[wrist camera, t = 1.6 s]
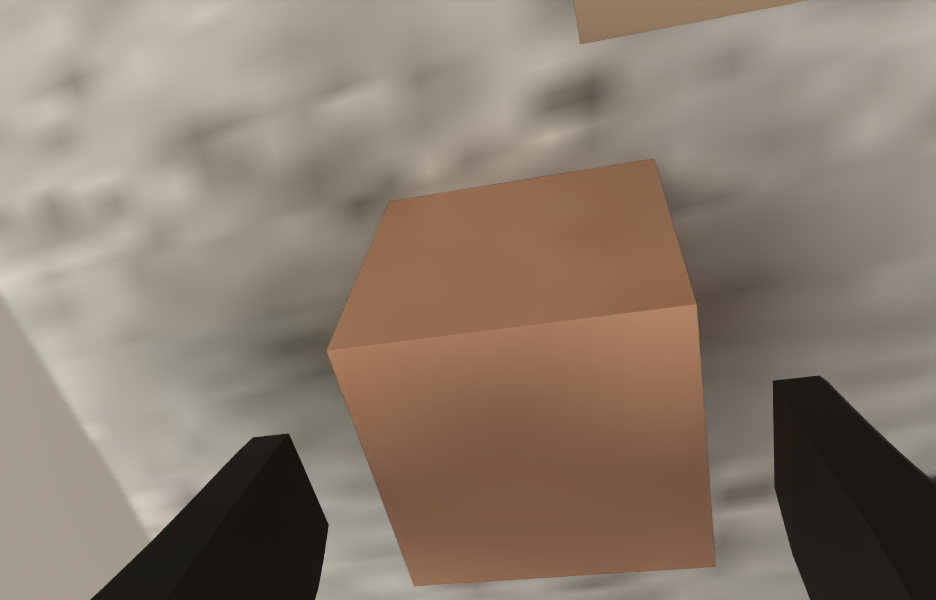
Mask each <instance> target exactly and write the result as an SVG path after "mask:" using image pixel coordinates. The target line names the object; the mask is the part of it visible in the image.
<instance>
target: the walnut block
mask: <svg viewBox="0 0 936 600" xmlns="http://www.w3.org/2000/svg"><path fill="white" fill-rule="evenodd" d="M802 1H807V0H574V3H575V11H576V18H577V25H578V32H579V40H580V44H584V43H589V42H594V41H599V40H605V39H610V38H615V37H620V36H625V35H631V34H636V33H641V32H646V31H651V30H657V29H662V28H667V27H672V26H677V25H682V24H688V23H693V22H698V21H703V20H708V19H714V18H719V17H724V16H729V15H734V14H739V13H745V12H750V11H755V10H760V9H765V8H771V7H776V6H781V5H786V4H791V3H796V2H802Z"/></svg>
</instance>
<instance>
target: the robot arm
mask: <svg viewBox="0 0 936 600" xmlns="http://www.w3.org/2000/svg"><path fill="white" fill-rule="evenodd" d="M773 419H774V482H775V491H776V494H777V498H778V502H779V506H780V510H781V514H782V517H783V521H784V525H785V529H786V532H787V536H788V539H789V543H790V547H791V550H792V554H793V557H794V559H795V562H796V564H797V567H798V570H799V572H800V575H801V577H802V580H803V582H804V585H805V587H806V590H807V592H808V595H809V597H810V600H936V483H934V482H933V481H932V480H931V479H930V478H929V477H928V476H926V475H925V474H924V473H923V472H922V471H921V470H920V469H918V468H917V467H916V466H915V465H914V464H913V463H912V462H910V461H909V460H908V459H907V458H906V457H905V456H904V455H903V454H901V453H900V452H899V451H898V450H897V449H896V448H895V447H894V446H893V445H892V444H891V443H889V442H888V441H887V440H886V439H885V438H884V437H883V436H882V435H881V434H880V433H879V432H878V431H877V430H876V429H875V428H874V427H873V426H872V425H870V424H869V423H868V422H867V421H866V420H865V419H864V418H863V417H862V416H861V415H860V414H859V413H858V412H857V411H856V410H855V409H854V408H853V407H852V406H851V405H850V404H849V403H848V402H847V401H846V400H845V399H844V398H843V397H842V396H841V395H840V394H839V393H838V392H837V391H836V390H835V389H834V388H833V387H832V386H831V385H830V384H829V383H828V382H827V381H826V380H825V379H823V378H822V377H821V376H812V377H803V378H794V379H784V380H775V381H773ZM328 526H329V525H328V522H327V520H326V518H325V515H324V513H323V511H322V508H321V506H320V504H319V502H318V499H317V497H316V495H315V492H314V490H313V488H312V485H311V483H310V481H309V479H308V476H307V474H306V472H305V469H304V467H303V465H302V462H301V460H300V458H299V456H298V453H297V451H296V449H295V446H294V444H293V442H292V439H291V437H290V435H289V434H280V435H271V436H262V437H253V438H252V439H251V440H250V441H249V442H248V443H247V444H246V445H245V446H243V447H242V448H241V449H240V450H239V451H238V452H237V453H236V454H235V455H234V456H233V457H232V458H231V459H230V461H229V462H228V463H227V464H226V465H225V466H224V467H223V468H222V469H221V470H220V471H219V472H218V473H217V474H216V475H215V476H214V477H213V478H212V479H211V480H210V481H209V482H208V483H207V485H206V486H205V487H204V488H203V489H202V490H201V491H200V492H199V493H198V494H197V495H196V496H195V497H194V498H193V499H192V500H191V501H190V502H189V503H188V504H187V505H186V506H185V508H184V509H183V510H182V511H181V512H180V513H179V514H178V515H177V516H176V517H175V518H174V519H173V520H172V521H171V522H170V523H169V524H168V525H167V526H166V527H165V528H164V529H163V530H162V531H161V532H160V533H159V534H158V535H157V536H156V537H155V538H154V539H153V540H152V541H151V542H150V543H149V544H148V545H147V546H146V547H145V548H144V549H143V550H142V551H141V552H140V553H139V554H138V555H137V556H136V557H135V558H134V559H133V560H132V561H131V562H130V563H129V564H127V566H126V567H124V568H123V569H122V570H121V571H120V572H119V573H118V574H117V575H116V576H115V577H114V578H113V579H112V580H111V581H110V582H109V583H108V584H107V585H106V586H105V587H104V588H103V589H101V590H100V591H99V592H98V593H97V594H96V595H95V596H94V597H93V598H92V599H91V600H315V598H316V594H317V591H318V587H319V582H320V576H321V571H322V565H323V560H324V553H325V546H326V540H327V533H328Z"/></svg>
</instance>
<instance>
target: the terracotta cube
mask: <svg viewBox="0 0 936 600" xmlns="http://www.w3.org/2000/svg"><path fill="white" fill-rule="evenodd" d="M327 354H328V356H329V359H330V362H331V364H332V367H333V370H334V372H335V375H336V378H337V380H338V383H339V386H340V389H341V391H342V394H343V397H344V399H345V402H346V405H347V407H348V410H349V413H350V415H351V418H352V421H353V423H354V426H355V429H356V431H357V434H358V437H359V440H360V442H361V445H362V448H363V450H364V453H365V456H366V458H367V461H368V464H369V466H370V469H371V472H372V474H373V477H374V480H375V482H376V485H377V488H378V491H379V493H380V496H381V499H382V501H383V504H384V507H385V509H386V512H387V515H388V517H389V520H390V523H391V525H392V528H393V531H394V533H395V536H396V539H397V542H398V544H399V547H400V550H401V552H402V555H403V558H404V560H405V563H406V566H407V568H408V571H409V574H410V576H411V579H412V582H413V584H414V586H423V585H439V584H454V583H470V582H486V581H501V580H517V579H533V578H548V577H564V576H580V575H595V574H611V573H627V572H642V571H658V570H673V569H689V568H705V567H716V563H715V549H714V535H713V522H712V508H711V494H710V480H709V467H708V453H707V439H706V425H705V412H704V398H703V384H702V370H701V357H700V343H699V329H698V315H697V304H696V300H695V297H694V293H693V290H692V287H691V283H690V280H689V276H688V273H687V270H686V266H685V263H684V259H683V256H682V253H681V249H680V246H679V243H678V239H677V236H676V232H675V229H674V226H673V222H672V219H671V215H670V212H669V209H668V205H667V202H666V198H665V195H664V192H663V188H662V185H661V181H660V178H659V175H658V171H657V168H656V164H655V161H654V159H649V160H643V161H637V162H630V163H624V164H618V165H612V166H605V167H599V168H593V169H587V170H581V171H574V172H568V173H562V174H556V175H550V176H543V177H537V178H531V179H525V180H518V181H512V182H506V183H500V184H494V185H487V186H481V187H475V188H469V189H463V190H456V191H450V192H444V193H438V194H431V195H425V196H419V197H413V198H407V199H400V200H394V201H389V203H388V205H387V208H386V210H385V213H384V215H383V217H382V220H381V222H380V224H379V227H378V229H377V232H376V234H375V236H374V239H373V241H372V243H371V246H370V248H369V251H368V253H367V255H366V258H365V260H364V263H363V265H362V267H361V270H360V272H359V274H358V277H357V279H356V282H355V284H354V286H353V289H352V291H351V293H350V296H349V298H348V301H347V303H346V305H345V308H344V310H343V312H342V315H341V317H340V320H339V322H338V324H337V327H336V329H335V332H334V334H333V336H332V339H331V341H330V343H329V346H328V348H327Z"/></svg>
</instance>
